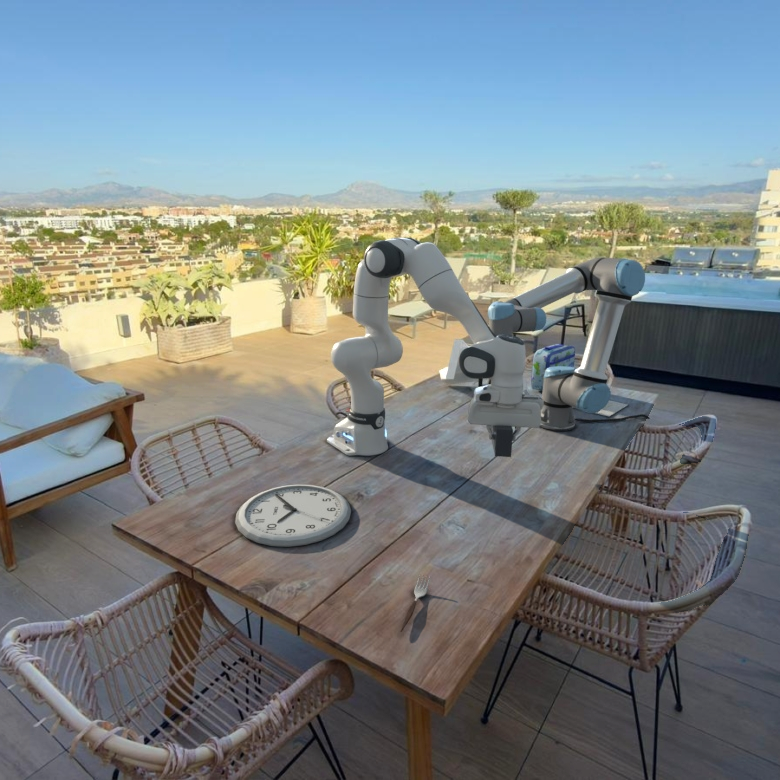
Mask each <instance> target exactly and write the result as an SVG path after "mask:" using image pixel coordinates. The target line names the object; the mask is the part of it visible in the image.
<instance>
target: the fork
mask: <svg viewBox="0 0 780 780" xmlns="http://www.w3.org/2000/svg"><path fill="white" fill-rule="evenodd" d="M420 577H421V573H420V574H419V576H418V579H417V583H416V585H415V586H414V591H413V594H414V595H415V599H414V600H413V602H412V603H411V605H409V608H408V609H407V610H406V613H405V617H404V620H403V623H402V625H401V629H400V633H402V632H403V631H404V629H405V627H406V625H408V622H409V621H410V619H411V618H412V616H413V614H414V611H415V608H416V605H417V601H418V599H419V598H422V597H425V596H426V595H427V593H428V589H429V584H430V580H431V576H429V578H428V580H427V577H428V576H427V575H425V579H424V574H422V578H420ZM420 579H421V581H420ZM423 580H424V582H423ZM426 583H427V584H426Z"/></svg>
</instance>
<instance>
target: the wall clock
mask: <svg viewBox="0 0 780 780" xmlns="http://www.w3.org/2000/svg"><path fill="white" fill-rule="evenodd" d="M351 514H352V509H351V504H350V503H349V501H348V500H347V499H346V498H345V497H344V496H343V495H341V494H340V493H338V492H337V491H335V490H333V489H330V488H327V487H323V486H318V485H313V484H290V485H289V484H288V485H282V486H277V487H272V488H269V489H267V490H264V491H261V492H259V493H257V494H255V495H254V496H252V497H250V498H248V499H247V500H246V501H245V502H244V503H243V504H242V505H240V507H239V509H238V510H237V511H236V514H235V520H234V524H235V526H236V529H237V531H238V532H239V533H240V534H241V535H242V536H243V537H245V538H246V539H248V540H250V541H252V542H254V543H257V544H261V545H266V546H270V547H283V548H284V547H285V548H286V547H287V548H289V547H298V546H306V545H311V544H313V543H319V542H322V541H324V540H327V539H328V538H330V537H332V536H334V535H336V534H337V533H339V532H340V531H341V530H343V529H345V526H346V525H347V524H348V522H350V518H351Z"/></svg>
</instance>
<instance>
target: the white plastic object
mask: <svg viewBox="0 0 780 780" xmlns="http://www.w3.org/2000/svg"><path fill="white" fill-rule="evenodd" d="M469 346H470V345H468V343H466V342H465V340H464V339H463V338H460V339H458V338H454V340H453V344H452V349H451V353H450V357H449V362H448V366H446V367H444V368H442V369H440V370H439V371H438V372H439V376H440V381H442V383H443V384H444V385H445V386H449V385H458V384H467V383H468V384H469V383H473V384H477V383H478V381H479V379H473V378H469V377H467V376H466V375H465V374H464V373H463V372H462V371H461V369H460V366H459V357H460V354H461V352H462V351H463V350H464V349H465V348H467V347H469ZM528 387H529V386H528V384H527V381H526V378H525V375H524V374H523V393H524V394H526V395H531V394H530V390H529V388H528Z"/></svg>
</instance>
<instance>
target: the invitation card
mask: <svg viewBox="0 0 780 780" xmlns="http://www.w3.org/2000/svg"><path fill="white" fill-rule="evenodd" d="M628 406H629V404H627V403H623V402H618V401H614V400H610V399H609V401H608V403H607V405H606V406H605V407H604V408H603V409H601V410H600V411H599V412H596V413H595V414H596V415H600V416H604V417H608V418H609V417H611V416H613V415H614V414H616V413H617V412H619V411H621V410H623V409H624V408H626V407H628Z"/></svg>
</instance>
